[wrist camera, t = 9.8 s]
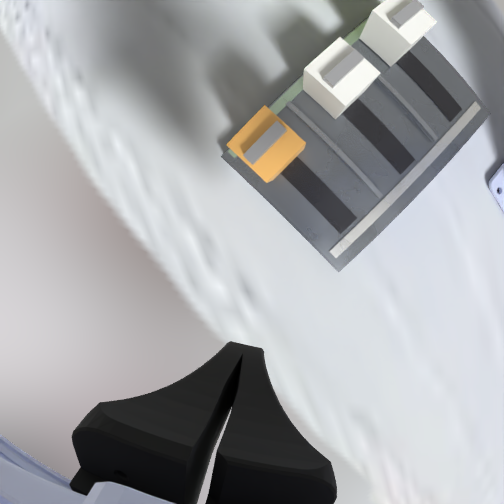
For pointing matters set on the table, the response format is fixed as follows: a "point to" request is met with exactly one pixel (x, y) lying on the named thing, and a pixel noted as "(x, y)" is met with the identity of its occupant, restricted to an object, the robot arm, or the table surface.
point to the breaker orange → (266, 144)
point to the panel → (368, 149)
